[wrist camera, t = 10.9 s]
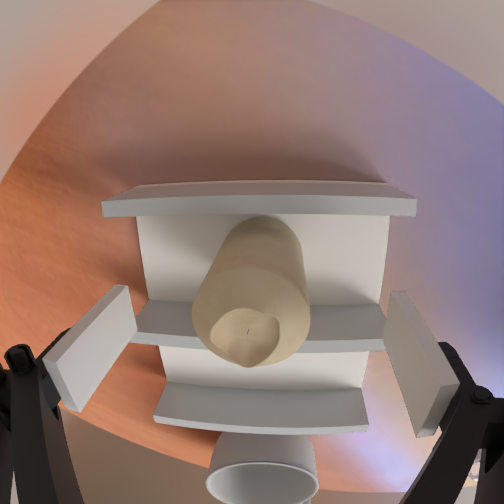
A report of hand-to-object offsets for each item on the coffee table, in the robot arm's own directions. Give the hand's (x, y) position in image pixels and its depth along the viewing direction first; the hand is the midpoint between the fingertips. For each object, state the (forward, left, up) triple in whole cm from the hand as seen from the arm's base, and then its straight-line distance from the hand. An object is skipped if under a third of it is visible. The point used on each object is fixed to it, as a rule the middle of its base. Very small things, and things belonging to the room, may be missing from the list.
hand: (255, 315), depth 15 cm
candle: (0, 0, -8) cm, 8 cm away
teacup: (-1, +23, -9) cm, 25 cm away
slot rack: (0, +4, -9) cm, 10 cm away
